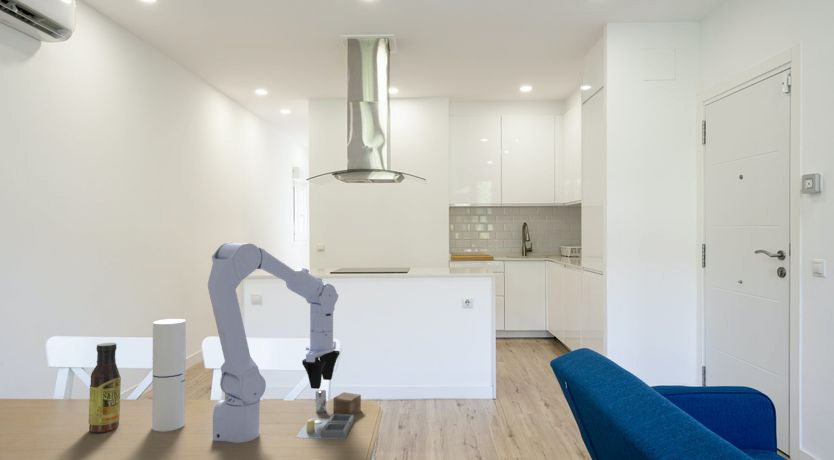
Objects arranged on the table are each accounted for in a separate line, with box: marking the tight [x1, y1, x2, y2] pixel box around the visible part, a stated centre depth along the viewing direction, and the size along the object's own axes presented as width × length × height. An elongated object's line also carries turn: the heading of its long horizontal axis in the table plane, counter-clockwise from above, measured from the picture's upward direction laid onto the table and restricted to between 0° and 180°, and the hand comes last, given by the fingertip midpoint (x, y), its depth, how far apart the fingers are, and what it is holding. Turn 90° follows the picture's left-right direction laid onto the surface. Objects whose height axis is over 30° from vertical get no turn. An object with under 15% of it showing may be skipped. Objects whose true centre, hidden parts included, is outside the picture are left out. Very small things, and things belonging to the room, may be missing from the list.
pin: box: [315, 389, 327, 414], centre depth 132 cm, size 3×3×6 cm
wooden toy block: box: [332, 392, 362, 416], centre depth 132 cm, size 5×5×5 cm
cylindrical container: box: [151, 318, 187, 432], centre depth 125 cm, size 7×7×25 cm
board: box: [295, 413, 355, 440], centre depth 121 cm, size 11×12×4 cm
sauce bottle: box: [88, 342, 122, 434], centre depth 123 cm, size 6×6×20 cm
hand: (321, 383), depth 132 cm, fingers open, 7 cm apart
